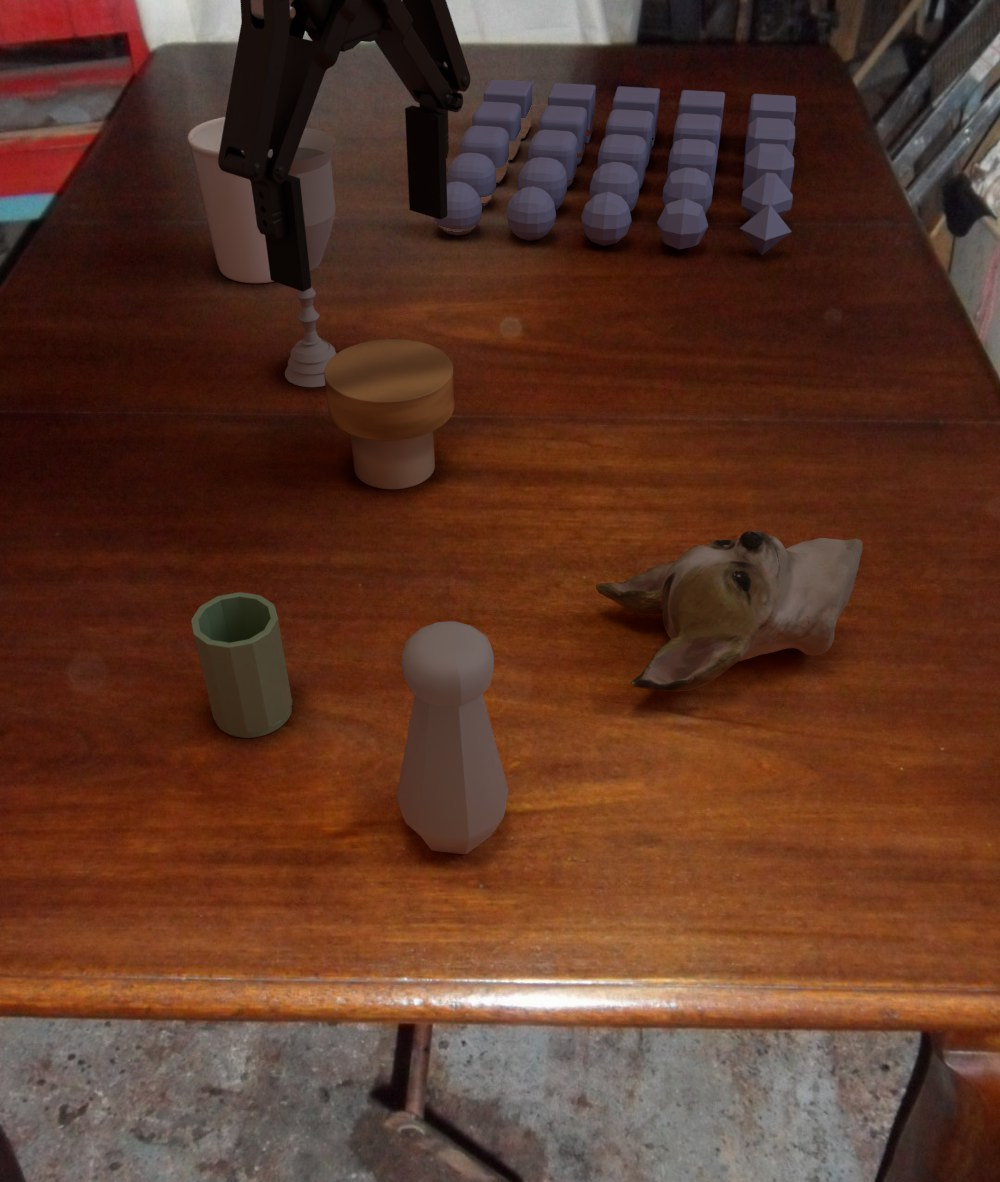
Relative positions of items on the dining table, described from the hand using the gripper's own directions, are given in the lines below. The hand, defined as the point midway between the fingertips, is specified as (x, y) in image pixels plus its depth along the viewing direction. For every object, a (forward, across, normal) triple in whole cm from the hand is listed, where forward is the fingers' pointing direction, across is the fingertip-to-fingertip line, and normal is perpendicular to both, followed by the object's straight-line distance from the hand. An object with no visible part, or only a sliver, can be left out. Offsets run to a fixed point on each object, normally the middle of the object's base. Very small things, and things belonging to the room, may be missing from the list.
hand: (363, 247), depth 77 cm
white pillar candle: (+16, 0, -1) cm, 17 cm away
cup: (+16, -24, -11) cm, 31 cm away
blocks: (+17, +57, +14) cm, 61 cm away
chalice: (+17, +8, +14) cm, 23 cm away
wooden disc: (+12, 0, -1) cm, 12 cm away
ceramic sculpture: (+16, -3, -31) cm, 35 cm away
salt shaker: (+16, -25, -26) cm, 39 cm away
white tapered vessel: (+17, +20, +32) cm, 41 cm away
